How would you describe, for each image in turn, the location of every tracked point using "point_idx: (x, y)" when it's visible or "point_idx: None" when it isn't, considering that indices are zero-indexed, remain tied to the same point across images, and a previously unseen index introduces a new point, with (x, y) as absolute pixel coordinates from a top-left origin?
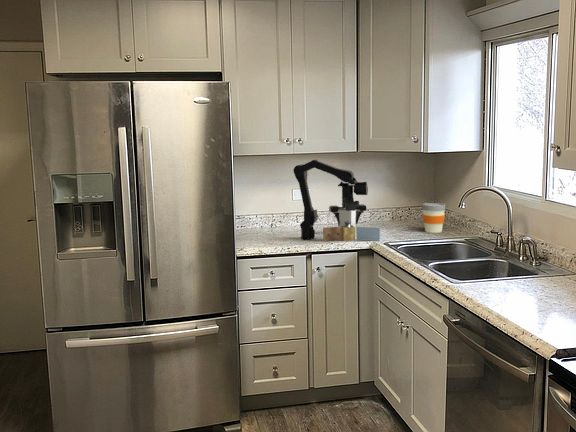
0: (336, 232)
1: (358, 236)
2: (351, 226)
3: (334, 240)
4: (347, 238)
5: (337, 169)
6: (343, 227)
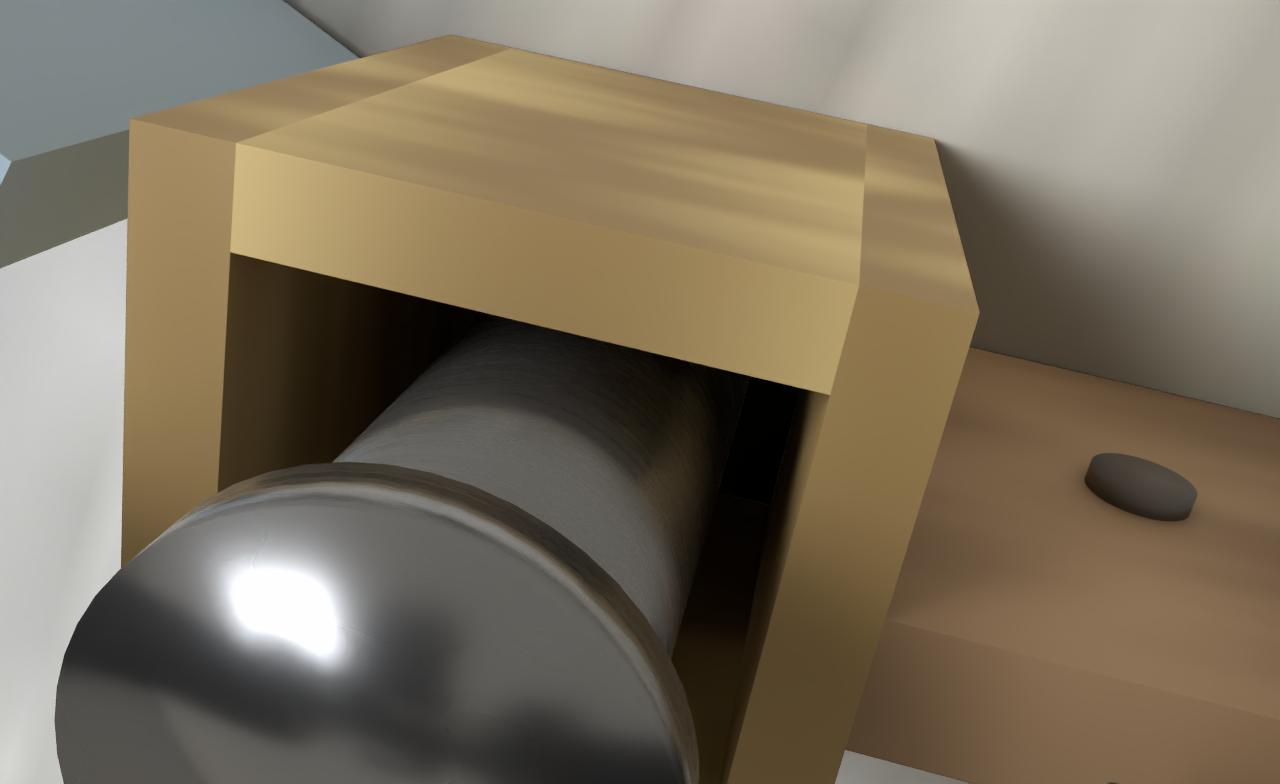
0: (1238, 549)
1: (228, 21)
2: None
3: (1237, 410)
4: (758, 118)
5: None
6: (917, 431)
